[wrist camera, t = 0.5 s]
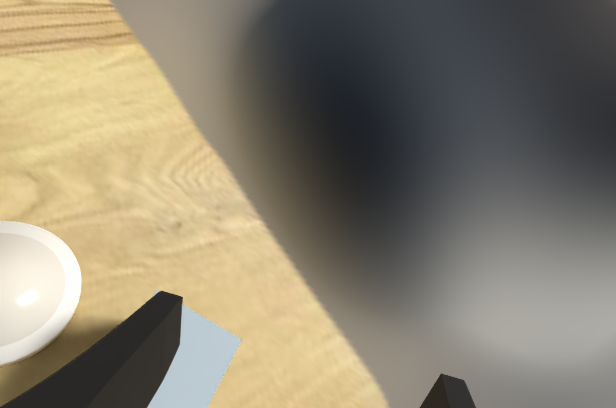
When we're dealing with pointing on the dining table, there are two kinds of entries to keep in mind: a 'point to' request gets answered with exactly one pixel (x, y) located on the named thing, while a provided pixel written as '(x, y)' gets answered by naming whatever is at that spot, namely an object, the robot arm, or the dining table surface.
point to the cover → (196, 363)
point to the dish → (34, 289)
